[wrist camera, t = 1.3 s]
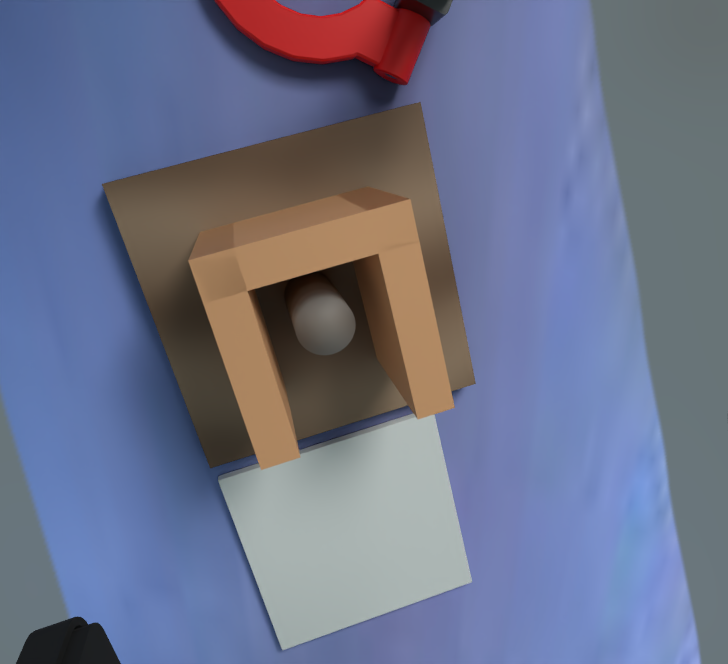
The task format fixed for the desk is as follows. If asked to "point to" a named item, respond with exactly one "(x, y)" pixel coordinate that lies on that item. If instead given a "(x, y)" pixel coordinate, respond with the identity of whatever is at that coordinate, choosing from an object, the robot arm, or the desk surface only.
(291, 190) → the stand
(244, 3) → the tow hook
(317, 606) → the pad
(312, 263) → the c link
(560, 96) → the desk surface
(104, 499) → the desk surface
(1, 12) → the desk surface
